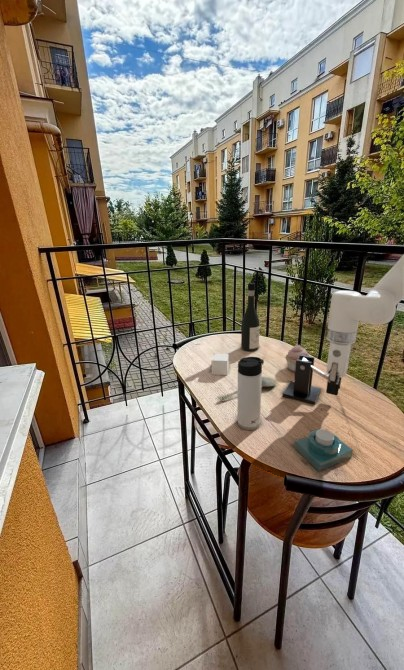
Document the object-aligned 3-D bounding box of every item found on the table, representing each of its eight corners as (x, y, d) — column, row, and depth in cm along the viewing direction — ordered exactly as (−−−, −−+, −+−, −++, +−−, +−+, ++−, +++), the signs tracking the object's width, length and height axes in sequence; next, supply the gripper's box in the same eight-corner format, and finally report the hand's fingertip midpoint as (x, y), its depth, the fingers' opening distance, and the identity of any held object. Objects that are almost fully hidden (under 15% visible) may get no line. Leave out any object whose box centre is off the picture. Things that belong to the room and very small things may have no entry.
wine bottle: (262, 347, 129) (264, 282, 119) (252, 353, 124) (254, 285, 113) (247, 343, 134) (248, 281, 124) (237, 349, 129) (238, 283, 118)
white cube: (211, 374, 107) (211, 360, 105) (213, 367, 112) (213, 353, 110) (227, 375, 106) (227, 360, 104) (228, 368, 111) (228, 354, 109)
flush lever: (337, 386, 86) (343, 378, 85) (336, 391, 84) (342, 383, 82) (299, 363, 91) (304, 355, 89) (297, 367, 88) (302, 359, 86)
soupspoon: (279, 388, 97) (266, 381, 102) (279, 379, 96) (266, 372, 101) (226, 406, 87) (215, 397, 93) (225, 396, 86) (214, 387, 92)
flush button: (324, 433, 69) (324, 427, 68) (337, 443, 65) (338, 437, 65) (311, 437, 68) (312, 431, 67) (324, 448, 64) (324, 442, 63)
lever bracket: (320, 391, 93) (325, 356, 88) (314, 405, 86) (319, 367, 81) (290, 384, 98) (293, 350, 94) (282, 396, 91) (285, 361, 87)
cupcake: (315, 371, 106) (317, 347, 102) (294, 376, 103) (296, 351, 99) (299, 361, 114) (301, 339, 110) (279, 366, 111) (281, 342, 108)
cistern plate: (325, 436, 73) (327, 423, 72) (351, 457, 66) (354, 443, 65) (294, 448, 70) (295, 434, 68) (318, 471, 63) (320, 457, 61)
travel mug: (259, 433, 75) (261, 366, 68) (235, 428, 77) (235, 363, 70) (262, 419, 81) (265, 355, 74) (240, 414, 83) (240, 353, 76)
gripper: (352, 347, 71) (342, 408, 78) (358, 328, 84) (349, 381, 90) (321, 342, 75) (314, 400, 81) (331, 324, 88) (325, 376, 94)
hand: (333, 390), depth 86 cm, fingers closed on flush lever, 3 cm apart
